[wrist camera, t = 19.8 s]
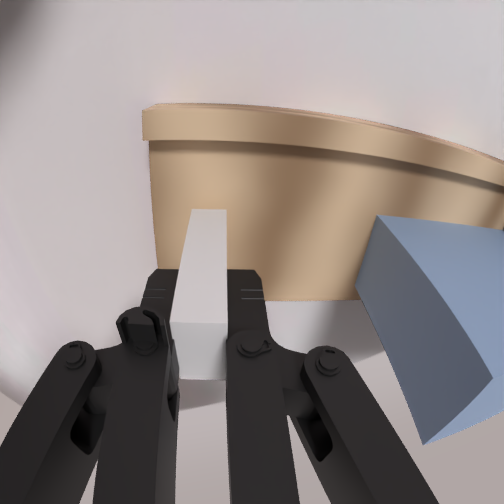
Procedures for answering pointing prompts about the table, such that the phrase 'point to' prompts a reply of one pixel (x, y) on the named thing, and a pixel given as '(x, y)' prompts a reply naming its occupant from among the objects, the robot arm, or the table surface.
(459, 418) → the slim book
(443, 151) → the shelf
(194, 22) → the table surface
